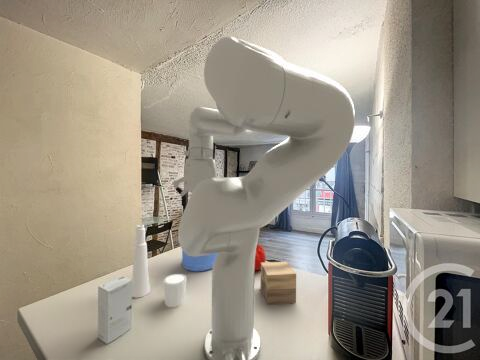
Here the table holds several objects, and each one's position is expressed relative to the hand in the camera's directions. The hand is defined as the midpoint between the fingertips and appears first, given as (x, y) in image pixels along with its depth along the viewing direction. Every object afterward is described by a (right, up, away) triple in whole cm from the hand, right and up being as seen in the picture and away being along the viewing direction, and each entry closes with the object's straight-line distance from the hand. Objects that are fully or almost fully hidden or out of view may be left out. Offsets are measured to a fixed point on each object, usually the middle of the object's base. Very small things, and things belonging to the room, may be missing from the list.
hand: (200, 208), depth 66 cm
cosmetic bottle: (-20, -28, +1) cm, 34 cm away
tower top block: (+25, -24, 0) cm, 35 cm away
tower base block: (+25, -28, 0) cm, 38 cm away
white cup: (-7, -28, -4) cm, 29 cm away
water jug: (-4, -28, +23) cm, 36 cm away
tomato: (+18, -28, +20) cm, 39 cm away
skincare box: (-18, -28, -16) cm, 37 cm away
